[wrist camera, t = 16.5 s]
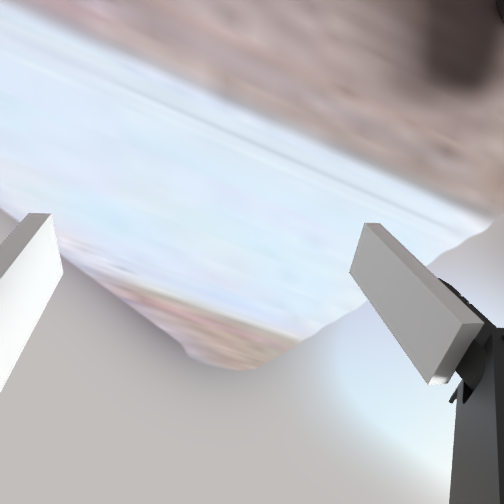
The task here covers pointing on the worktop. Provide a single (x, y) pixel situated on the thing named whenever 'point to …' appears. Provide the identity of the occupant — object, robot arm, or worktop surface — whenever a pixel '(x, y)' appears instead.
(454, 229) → the worktop surface
